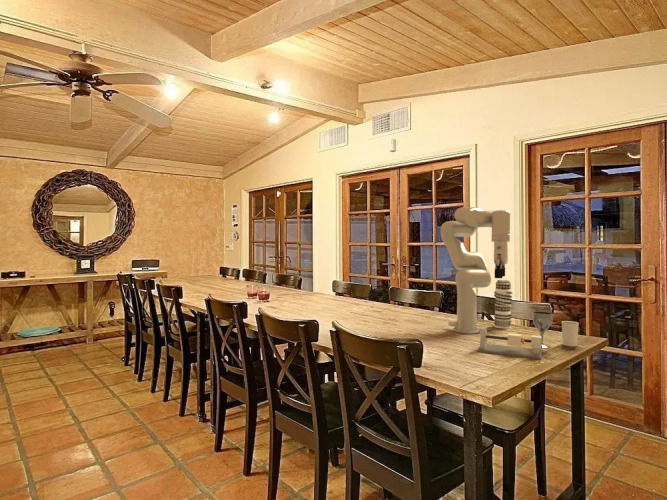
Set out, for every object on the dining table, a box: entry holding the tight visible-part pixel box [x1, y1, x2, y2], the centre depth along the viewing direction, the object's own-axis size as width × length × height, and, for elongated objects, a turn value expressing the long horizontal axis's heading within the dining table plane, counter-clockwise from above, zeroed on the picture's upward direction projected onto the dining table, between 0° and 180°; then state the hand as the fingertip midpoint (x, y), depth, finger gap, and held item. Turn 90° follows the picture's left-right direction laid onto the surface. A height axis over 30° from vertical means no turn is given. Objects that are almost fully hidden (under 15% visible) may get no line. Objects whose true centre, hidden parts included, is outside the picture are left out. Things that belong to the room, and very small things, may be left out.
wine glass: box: [531, 310, 553, 349], centre depth 191 cm, size 8×8×15 cm
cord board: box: [477, 326, 543, 360], centre depth 182 cm, size 24×12×9 cm, turn 63°
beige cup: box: [561, 320, 579, 347], centre depth 194 cm, size 7×7×10 cm
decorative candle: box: [493, 279, 513, 330], centre depth 231 cm, size 9×9×25 cm
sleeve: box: [507, 332, 523, 347], centre depth 181 cm, size 5×4×4 cm
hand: (499, 277), depth 192 cm, fingers open, 9 cm apart
